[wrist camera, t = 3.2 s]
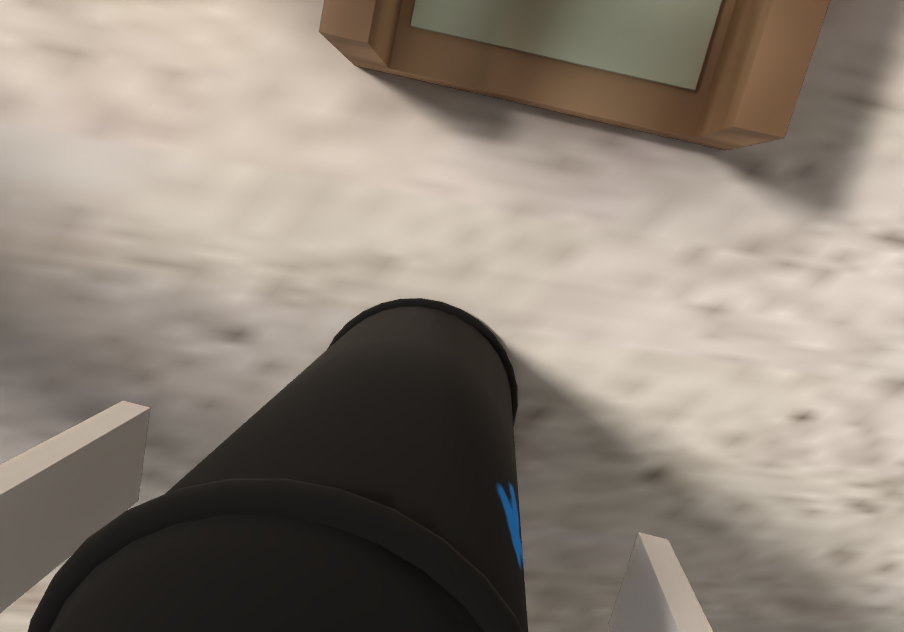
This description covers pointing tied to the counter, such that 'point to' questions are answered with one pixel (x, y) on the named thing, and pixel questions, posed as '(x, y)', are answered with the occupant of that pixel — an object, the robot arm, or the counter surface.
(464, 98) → the counter surface
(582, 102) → the u rest
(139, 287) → the counter surface
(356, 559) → the aerosol can
